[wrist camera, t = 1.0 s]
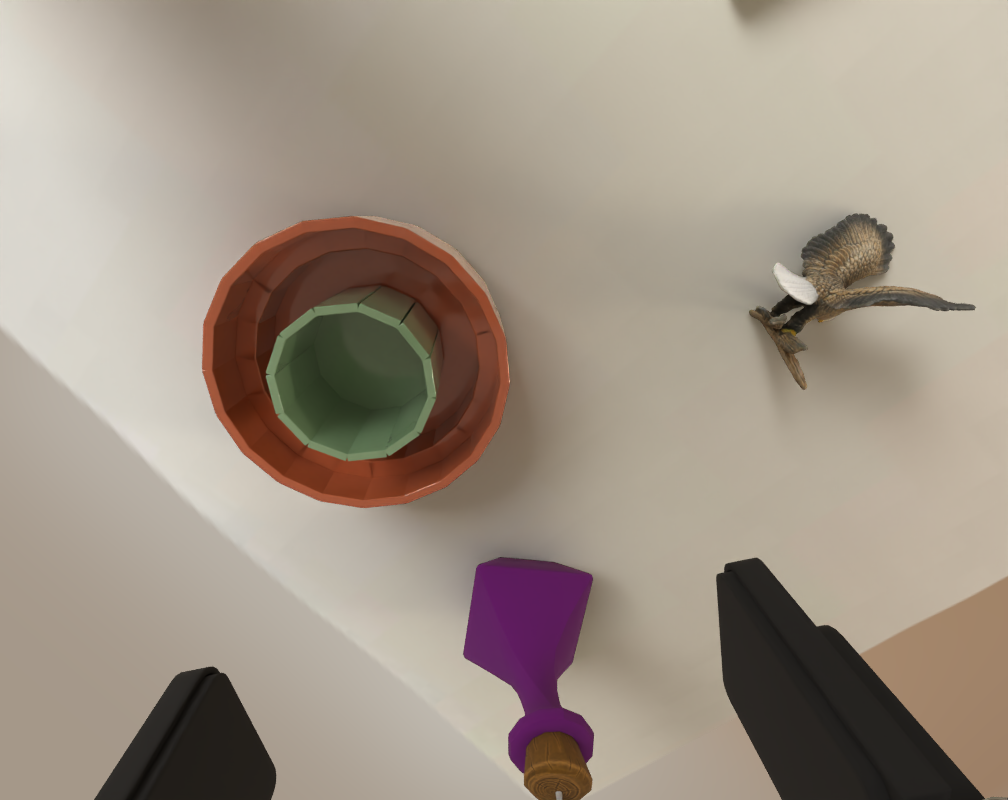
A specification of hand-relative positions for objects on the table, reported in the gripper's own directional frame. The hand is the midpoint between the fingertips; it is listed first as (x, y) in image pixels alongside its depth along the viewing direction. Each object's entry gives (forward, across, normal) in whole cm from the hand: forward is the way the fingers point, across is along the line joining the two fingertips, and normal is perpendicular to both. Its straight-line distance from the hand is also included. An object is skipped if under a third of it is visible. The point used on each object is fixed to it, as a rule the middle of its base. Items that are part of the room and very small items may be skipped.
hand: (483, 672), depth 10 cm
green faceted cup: (+22, +6, -2) cm, 23 cm away
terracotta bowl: (+22, +6, -2) cm, 23 cm away
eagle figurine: (+22, -20, 0) cm, 30 cm away
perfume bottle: (+22, 0, +17) cm, 28 cm away
